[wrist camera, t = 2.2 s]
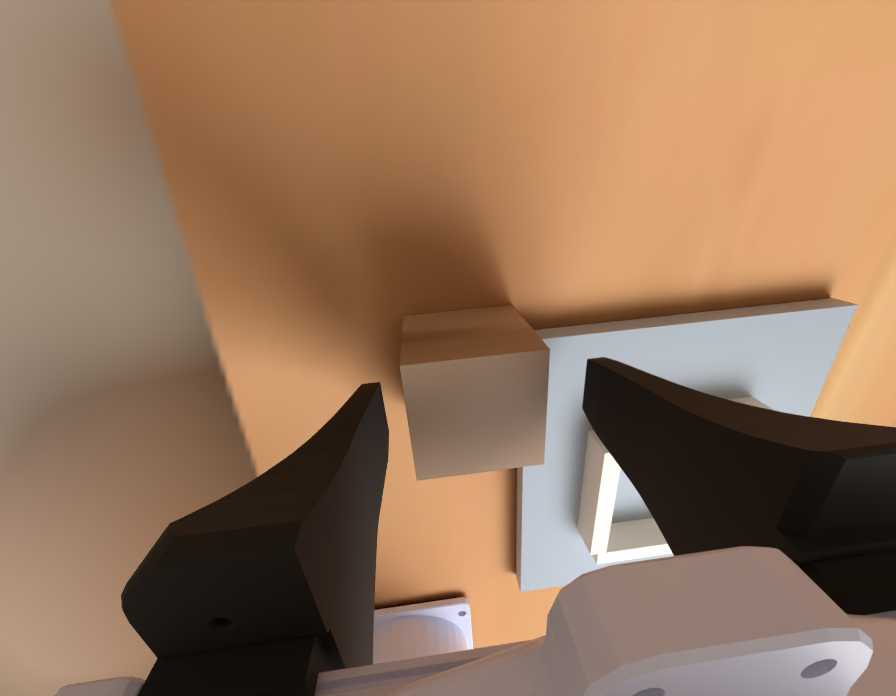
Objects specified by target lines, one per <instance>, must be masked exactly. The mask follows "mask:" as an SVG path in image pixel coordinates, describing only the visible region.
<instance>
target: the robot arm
mask: <svg viewBox="0 0 896 696" xmlns="http://www.w3.org/2000/svg"><path fill="white" fill-rule="evenodd" d="M582 409H583V411H584V413H585V415H586V417H587V419H588V421H589V423H590V425H591V426H592V428H593V430H594V432H595V433H596V435H597V436H598V438H599V439H600V440H601V442H602V443H603V444H604V446H605V447H606V449H607V450H608V451H609V453H610V454H611V455H612V457H613V458H614V460H615V461H616V462H617V464H618V465H619V466H620V468H621V469H622V470H623V472H624V473H625V475H626V476H627V477H628V479H629V480H630V481H631V483H632V484H633V486H634V487H635V489H636V490H637V492H638V493H639V495H640V496H641V498H642V500H643V501H644V503H645V505H646V506H647V508H648V510H649V512H650V513H651V515H652V517H653V518H654V520H655V522H656V524H657V525H658V527H659V529H660V531H661V533H662V535H663V536H664V538H665V540H666V542H667V544H668V546H669V547H670V549H671V551H672V553H673V555H674V556H671V557H664V558H657V559H650V560H643V561H636V562H630V563H623V564H616V565H610V566H607V567H603V568H600V569H597V570H594V571H591V572H587V573H584V574H581V575H580V576H579V577H577V578H576V579H575V580H573V581H572V582H571V583H569V584H568V585H566V586H565V587H564V588H562V589H561V590H560V591H559V593H558V595H557V597H556V599H555V601H554V603H553V605H552V607H551V609H550V612H549V614H548V617H547V630H546V635H545V636H542V637H539V638H536V639H534V640H528V641H522V642H515V643H509V644H502V645H496V646H489V647H483V648H476V649H473V640H472V628H471V616H470V605H469V600H468V599H467V598H464V597H459V598H453V599H446V600H439V601H432V602H425V603H419V604H412V605H405V606H398V607H391V608H385V609H378V610H374V596H375V571H376V550H377V531H378V522H379V514H380V507H381V501H382V495H383V488H384V482H385V475H386V469H387V462H388V449H389V429H388V424H387V418H386V413H385V407H384V402H383V396H382V391H381V385H380V382H377V383H368V384H362V385H361V386H360V387H359V388H358V389H357V390H356V391H355V392H354V394H353V395H352V396H351V397H350V398H349V399H348V401H347V402H346V403H345V404H344V405H343V406H342V407H341V408H340V410H339V411H338V412H337V413H336V414H335V415H334V416H333V417H332V418H331V419H330V420H329V421H328V422H327V423H326V424H325V425H324V426H323V427H322V428H321V429H320V430H319V431H318V432H317V433H316V434H315V435H314V436H312V437H311V438H310V439H309V440H308V441H307V442H306V443H304V444H303V445H302V446H301V447H299V448H298V449H297V450H296V451H294V452H293V453H292V454H291V455H289V456H288V457H287V458H285V459H284V460H282V461H281V462H279V463H278V464H276V465H275V466H274V467H272V468H271V469H269V470H268V471H266V472H265V473H263V474H262V475H260V476H259V477H257V478H256V479H254V480H252V481H251V482H249V483H247V484H246V485H244V486H243V487H241V488H239V489H237V490H235V491H234V492H232V493H230V494H228V495H226V496H225V497H223V498H221V499H219V500H217V501H215V502H213V503H211V504H209V505H207V506H205V507H203V508H201V509H199V510H197V511H195V512H193V513H191V514H189V515H187V516H185V517H183V518H181V519H179V520H177V521H174V522H172V523H170V524H169V526H168V527H167V528H166V529H165V531H164V532H163V533H162V535H161V536H160V538H159V539H158V541H157V542H156V543H155V545H154V546H153V547H152V549H151V550H150V552H149V553H148V554H147V556H146V557H145V559H144V560H143V561H142V563H141V564H140V565H139V567H138V568H137V570H136V571H135V572H134V574H133V575H132V577H131V578H130V579H129V581H128V582H127V584H126V586H125V588H124V590H123V592H122V595H121V600H122V609H123V612H124V614H125V616H126V617H127V619H128V621H129V623H130V624H131V625H132V627H133V628H134V629H135V630H136V632H137V633H138V634H139V635H140V636H141V638H142V639H143V640H144V642H145V643H146V644H147V645H148V647H149V648H150V649H151V650H152V651H153V653H154V654H155V655H156V657H157V658H158V659H157V661H156V662H155V664H154V666H153V668H152V670H151V672H150V674H149V675H148V678H147V679H146V681H145V680H143V679H141V678H137V677H117V678H110V679H103V680H97V681H90V682H83V683H77V684H71V685H66V686H64V687H62V688H60V689H59V690H58V692H57V693H56V695H55V696H896V427H886V426H877V425H868V424H858V423H849V422H841V421H833V420H827V419H820V418H814V417H807V416H801V415H796V414H790V413H784V412H779V411H775V410H770V409H765V408H760V407H756V406H751V405H747V404H743V403H739V402H735V401H731V400H728V399H724V398H720V397H717V396H713V395H710V394H706V393H703V392H700V391H697V390H694V389H691V388H688V387H685V386H682V385H679V384H676V383H674V382H671V381H668V380H666V379H663V378H660V377H658V376H655V375H652V374H650V373H647V372H645V371H642V370H640V369H637V368H635V367H632V366H630V365H627V364H624V363H622V362H619V361H616V360H613V359H610V358H606V357H600V358H591V359H587V365H586V375H585V384H584V394H583V404H582Z"/></svg>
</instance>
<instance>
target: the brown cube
mask: <svg viewBox="0 0 896 696" xmlns="http://www.w3.org/2000/svg"><path fill="white" fill-rule="evenodd" d="M549 361H550V349H549V347H548V346H547V345H546V344H545V343H544V342H543V340H542V339H541V338H540V337H539V336H538V334H537V333H536V332H535V331H534V330H533V329H532V327H531V326H530V325H529V324H528V323H527V322H526V320H525V319H524V318H523V317H522V316H521V314H520V313H519V312H518V311H517V310H516V309H515V307H514V306H513V305H512V304H511V305H501V306H491V307H482V308H472V309H462V310H453V311H443V312H433V313H424V314H414V315H404V316H403V322H402V337H401V352H400V372H401V379H402V386H403V392H404V399H405V405H406V412H407V418H408V425H409V432H410V438H411V445H412V451H413V458H414V465H415V471H416V478H417V481H418V480H426V479H433V478H441V477H449V476H457V475H465V474H472V473H480V472H488V471H496V470H503V469H511V468H519V467H527V466H535V465H542V464H544V457H545V438H546V419H547V400H548V381H549Z"/></svg>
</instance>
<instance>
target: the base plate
mask: <svg viewBox="0 0 896 696" xmlns="http://www.w3.org/2000/svg"><path fill="white" fill-rule="evenodd" d="M857 306H858V305H857V304H853V303H849V302H845V301H842V300H838V299H834V298H827V299H818V300H808V301H799V302H790V303H780V304H771V305H762V306H752V307H743V308H734V309H724V310H715V311H706V312H696V313H687V314H678V315H668V316H659V317H650V318H641V319H631V320H622V321H613V322H603V323H594V324H585V325H575V326H566V327H557V328H547V329H538V330H534V331H535V332H536V333H537V334H538V336H539V337H540V338H541V339H542V340H543V342H544V343H545V344H546V345H547V346H548V347H549V349H550V361H549V381H548V400H547V419H546V438H545V457H544V464H542V465H535V466H527V467H519V468H517V521H516V577H517V580H518V584H519V588H520V592H525V591H531V590H538V589H545V588H552V587H559V586H565V585H568V584H569V583H571V582H572V581H573V580H575V579H576V578H577V577H579V576H580V575H581V574H584V573H587V572H591V571H594V570H597V569H600V568H603V567H607V566H610V565H616V564H623V563H630V562H636V561H643V560H650V559H657V558H664V557H671V556H674V555H673V553H672V551H671V549H670V547H669V546H668V544H667V542H666V540H665V538H664V536H663V535H662V533H661V531H660V529H659V527H658V525H657V524H656V522H655V520H654V518H653V517H652V515H651V513H650V512H649V510H648V508H647V506H646V505H645V503H644V501H643V500H642V498H641V496H640V495H639V493H638V492H637V490H636V489H635V487H634V486H633V484H632V483H631V481H630V480H629V479H628V477H627V476H626V475H625V473H624V472H623V470H622V469H621V468H620V466H619V465H618V464H617V462H616V461H615V460H614V458H613V457H612V455H611V454H610V453H609V451H608V450H607V449H606V447H605V446H604V444H603V443H602V442H601V440H600V439H599V438H598V436H597V435H596V433H595V432H594V430H593V428H592V426H591V425H590V423H589V421H588V419H587V417H586V415H585V413H584V411H583V409H582V404H583V394H584V384H585V375H586V365H587V359H591V358H600V357H606V358H610V359H613V360H616V361H619V362H622V363H624V364H627V365H630V366H632V367H635V368H637V369H640V370H642V371H645V372H647V373H650V374H652V375H655V376H658V377H660V378H663V379H666V380H668V381H671V382H674V383H676V384H679V385H682V386H685V387H688V388H691V389H694V390H697V391H700V392H703V393H706V394H710V395H713V396H717V397H720V398H724V399H728V400H731V401H735V402H739V403H743V404H747V405H751V406H756V407H760V408H765V409H770V410H775V411H779V412H784V413H790V414H796V415H801V416H807V417H810V415H811V413H812V410H813V408H814V406H815V403H816V401H817V399H818V397H819V394H820V392H821V390H822V387H823V385H824V383H825V380H826V378H827V376H828V373H829V371H830V369H831V366H832V364H833V362H834V360H835V357H836V355H837V353H838V350H839V348H840V346H841V343H842V341H843V339H844V336H845V334H846V332H847V329H848V327H849V325H850V323H851V320H852V318H853V316H854V313H855V311H856V309H857Z"/></svg>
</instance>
